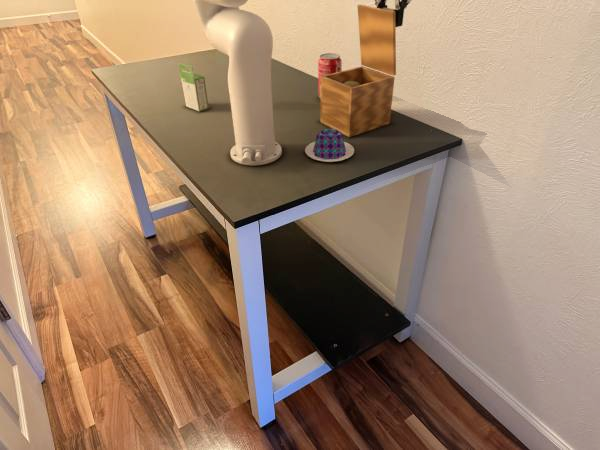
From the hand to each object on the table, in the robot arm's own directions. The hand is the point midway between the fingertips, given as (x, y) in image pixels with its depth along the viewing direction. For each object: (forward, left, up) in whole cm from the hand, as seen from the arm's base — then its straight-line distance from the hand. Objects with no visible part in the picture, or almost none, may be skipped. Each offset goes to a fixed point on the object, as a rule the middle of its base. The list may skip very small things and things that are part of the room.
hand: (388, 23), depth 107 cm
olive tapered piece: (-7, +9, -24) cm, 26 cm away
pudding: (-23, +16, -24) cm, 37 cm away
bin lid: (-2, +3, -3) cm, 5 cm away
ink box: (+9, +55, -24) cm, 61 cm away
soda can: (+15, +14, -24) cm, 32 cm away
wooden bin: (-5, +8, -24) cm, 26 cm away
